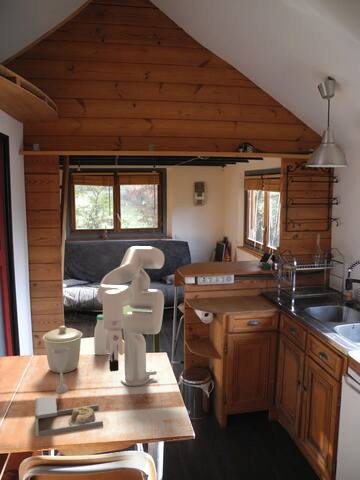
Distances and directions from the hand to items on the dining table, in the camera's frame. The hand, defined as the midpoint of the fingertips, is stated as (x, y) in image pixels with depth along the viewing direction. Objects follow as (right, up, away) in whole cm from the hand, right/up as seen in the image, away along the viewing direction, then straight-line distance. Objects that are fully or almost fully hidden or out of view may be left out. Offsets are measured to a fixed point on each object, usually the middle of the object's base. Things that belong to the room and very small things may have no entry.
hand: (114, 370), depth 164 cm
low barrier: (-16, -18, -3) cm, 25 cm away
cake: (-12, -19, -1) cm, 22 cm away
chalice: (-26, -15, +22) cm, 37 cm away
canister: (-30, -12, +43) cm, 54 cm away
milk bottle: (-16, -10, +62) cm, 65 cm away
